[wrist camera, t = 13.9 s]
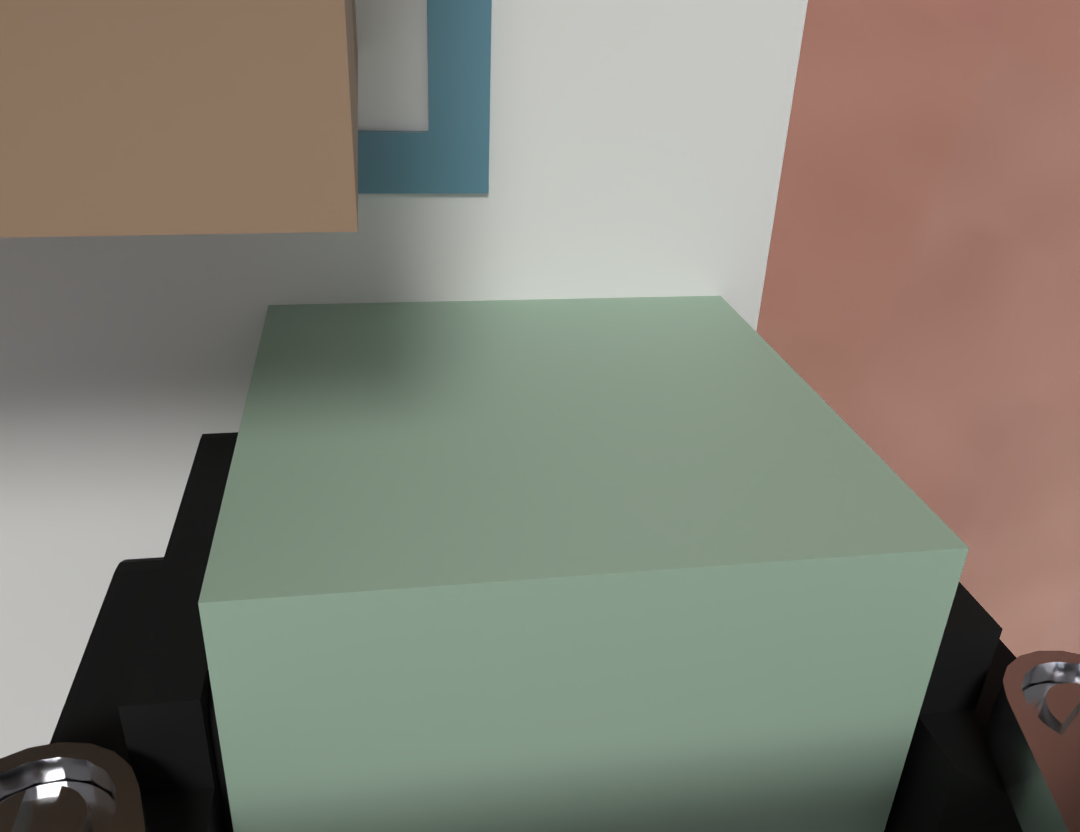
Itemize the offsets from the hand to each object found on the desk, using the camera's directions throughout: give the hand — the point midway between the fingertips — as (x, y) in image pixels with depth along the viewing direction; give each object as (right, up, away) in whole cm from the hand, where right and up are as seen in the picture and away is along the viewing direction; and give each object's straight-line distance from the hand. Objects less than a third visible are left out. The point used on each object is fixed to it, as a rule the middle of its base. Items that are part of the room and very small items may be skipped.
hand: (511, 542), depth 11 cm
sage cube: (0, 0, +1) cm, 1 cm away
